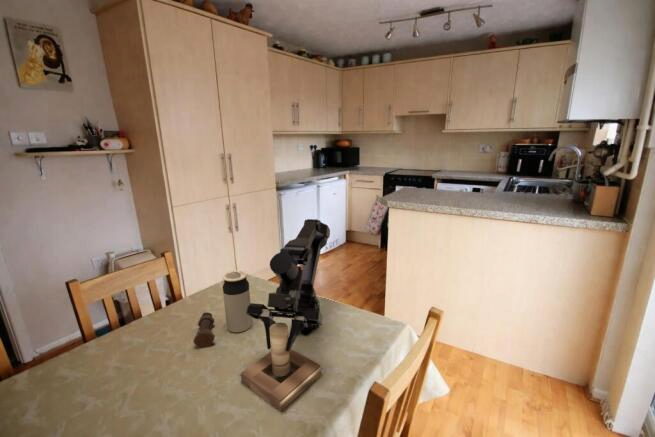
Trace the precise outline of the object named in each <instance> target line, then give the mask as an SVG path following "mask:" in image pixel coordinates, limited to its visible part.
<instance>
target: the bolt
mask: <svg viewBox="0 0 655 437" xmlns="http://www.w3.org/2000/svg"><path fill="white" fill-rule="evenodd" d="M214 324H215V319H214V318H213V314H212V313H210V312H209V311H208V312H203V313H202V315H201V316H200V318H199V320H198V323H197V325H198V327H199V330H198V331H197V332H196V335H195V336H194V338H193V344H194V345H195V346H196V347H197V348H198V349H205V348H209V347H211V346H212V344H213V342H214V340H215V336H216V335H215V334H214V333H213V332H212V327H213V325H214Z"/></svg>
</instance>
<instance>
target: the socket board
mask: <svg viewBox="0 0 655 437" xmlns="http://www.w3.org/2000/svg"><path fill="white" fill-rule="evenodd" d="M289 356H290V372H292V374H290V375H289V376H288V377H287V378H286V379H284V380H283V381H282V382H279V381H277V380H276V379H274V378H273V377H271V374H273V370H272V357H271V351H270V352H268V353H266V355H264V356H263V357H261V358H259V359H258V360H257V361H255V362H254V363H252V364H251V365H249V366H248V367H246V369H244V370H243V371H241V372H239V374H238V376H239V377H240V378H241V380H240V381H241V384H242V385H243V386H244V387H247V388H248V389H249V390H251V391H252V392H254V393H255V394H256V395H257V396H259V397H260V398H261V399H263V400H264V401H265V402H267V403H268V404H270V405H271V406H272V407H273V408H275V409H276V410H277V411H279V412H283V410H284V409H286V408H287V407H288V406H289V405H290V404H291V403H292V402H294V400H296V399H297V397H299V396H300V395H301V394H302V393H303V392H304V391H305V390H306V389H307V388H308V387H310V386H311V384H312V383H314V382H315V381H316V380H317V379H318V378H319V377H320V376H321V375H322V370H323V366H322V364H320V363H318V362H316V361H314V360H312V359H311V358H309V357H307V356H305V355H303V354H301V353H300V352H298V351H296V350H294V349H292V348H290V350H289Z"/></svg>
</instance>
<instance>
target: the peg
mask: <svg viewBox="0 0 655 437" xmlns="http://www.w3.org/2000/svg"><path fill="white" fill-rule="evenodd" d="M269 330H270V343H271V348H270V352H271V357H272V370H273V373H272V374H273V375H274V376H276V377H284V376H287V375H288V374H289V373H290V372H291V370H290V356H289V352H287V351H286V348H287V342H288V338H289V326H288V324H287V323H285V322H277V323H275V324H273V325H271V326H270V328H269Z"/></svg>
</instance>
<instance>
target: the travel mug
mask: <svg viewBox="0 0 655 437" xmlns="http://www.w3.org/2000/svg"><path fill="white" fill-rule="evenodd" d="M247 276H248V273H247V271H245V270H239V269H238V270H232V271H229V272H226V273H224V274H223V275H222V280H223V284H222V293H223V301H224V313H225V322H226V329H227V330H228V331H229V332H231V333H241V332H245V331H247V330H249V329H250V328H251V327H252V326H253V318H252V317H250V316H249V315H247V314H246V311H247V307H248V306H249V305H250V304H251V303H252V302H251V295H250V294H251V293H250V292H251V291H250V283H249V281H248V279H247Z"/></svg>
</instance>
